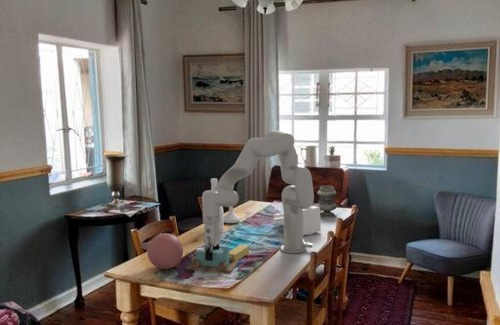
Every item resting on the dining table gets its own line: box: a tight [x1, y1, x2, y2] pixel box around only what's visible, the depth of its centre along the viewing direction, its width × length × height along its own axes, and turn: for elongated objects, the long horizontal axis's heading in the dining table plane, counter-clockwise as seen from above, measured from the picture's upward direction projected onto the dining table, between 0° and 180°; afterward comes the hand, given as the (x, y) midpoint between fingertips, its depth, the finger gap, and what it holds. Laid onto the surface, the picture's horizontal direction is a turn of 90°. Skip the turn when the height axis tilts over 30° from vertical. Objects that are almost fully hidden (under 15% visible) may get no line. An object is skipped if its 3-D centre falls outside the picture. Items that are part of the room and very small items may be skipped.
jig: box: [186, 256, 239, 274], centre depth 198 cm, size 20×12×4 cm, turn 77°
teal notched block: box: [195, 245, 230, 267], centre depth 198 cm, size 14×4×8 cm, turn 77°
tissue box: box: [272, 205, 322, 236], centre depth 253 cm, size 15×25×28 cm
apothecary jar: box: [316, 185, 338, 218], centre depth 284 cm, size 12×12×18 cm
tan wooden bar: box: [229, 244, 250, 262], centre depth 210 cm, size 4×14×4 cm, turn 154°
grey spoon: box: [224, 185, 241, 224], centre depth 269 cm, size 13×11×25 cm
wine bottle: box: [210, 177, 225, 233], centre depth 250 cm, size 10×10×30 cm
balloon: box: [140, 232, 184, 270], centre depth 197 cm, size 15×20×15 cm
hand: (212, 256), depth 198 cm, fingers open, 9 cm apart
